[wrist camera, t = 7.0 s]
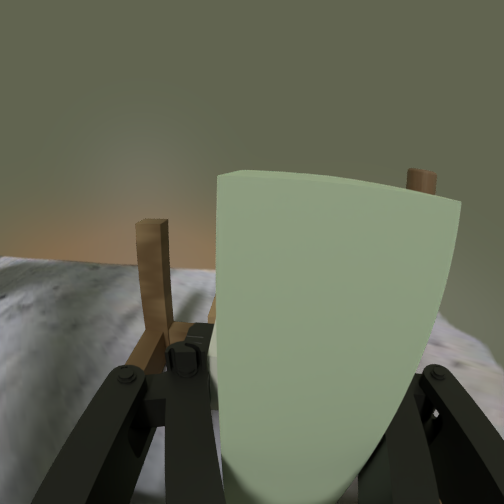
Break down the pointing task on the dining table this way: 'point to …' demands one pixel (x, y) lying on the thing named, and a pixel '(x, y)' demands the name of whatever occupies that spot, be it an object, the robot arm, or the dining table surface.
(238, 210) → the sage block
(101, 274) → the dining table surface
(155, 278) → the rack
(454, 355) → the dining table surface
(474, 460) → the robot arm
